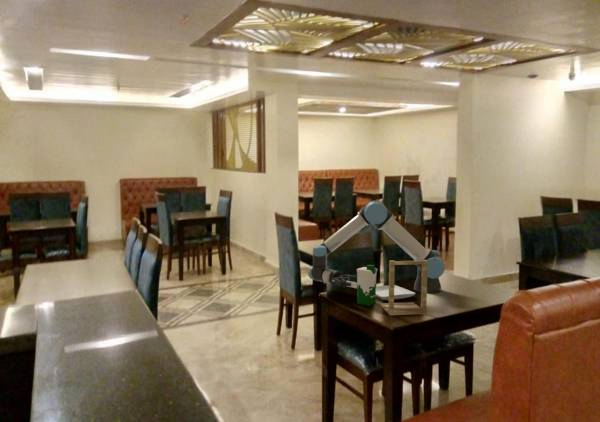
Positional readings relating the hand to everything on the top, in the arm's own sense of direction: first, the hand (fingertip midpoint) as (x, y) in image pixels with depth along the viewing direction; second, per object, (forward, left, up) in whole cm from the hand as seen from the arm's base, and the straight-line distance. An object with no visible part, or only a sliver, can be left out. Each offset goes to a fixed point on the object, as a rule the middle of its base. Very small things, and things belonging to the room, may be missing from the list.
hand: (364, 283), depth 245 cm
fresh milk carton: (-1, 0, -11) cm, 11 cm away
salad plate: (-17, -14, -11) cm, 24 cm away
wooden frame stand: (-16, +12, -10) cm, 23 cm away
